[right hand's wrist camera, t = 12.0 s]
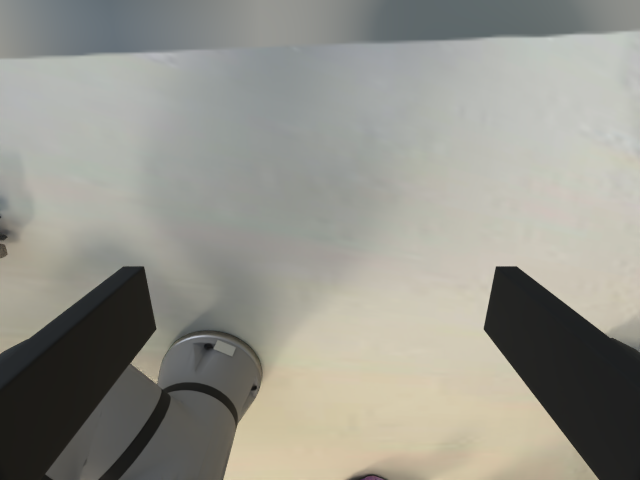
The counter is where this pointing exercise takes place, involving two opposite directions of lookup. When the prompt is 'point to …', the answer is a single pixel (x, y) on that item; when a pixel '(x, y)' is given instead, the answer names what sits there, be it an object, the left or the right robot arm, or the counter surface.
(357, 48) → the counter surface
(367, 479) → the figurine
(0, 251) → the figurine character
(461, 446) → the counter surface
